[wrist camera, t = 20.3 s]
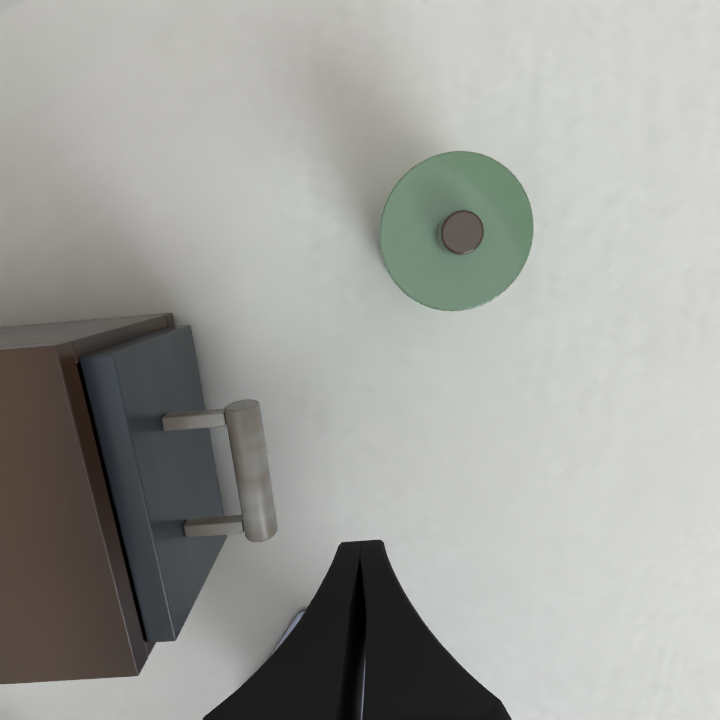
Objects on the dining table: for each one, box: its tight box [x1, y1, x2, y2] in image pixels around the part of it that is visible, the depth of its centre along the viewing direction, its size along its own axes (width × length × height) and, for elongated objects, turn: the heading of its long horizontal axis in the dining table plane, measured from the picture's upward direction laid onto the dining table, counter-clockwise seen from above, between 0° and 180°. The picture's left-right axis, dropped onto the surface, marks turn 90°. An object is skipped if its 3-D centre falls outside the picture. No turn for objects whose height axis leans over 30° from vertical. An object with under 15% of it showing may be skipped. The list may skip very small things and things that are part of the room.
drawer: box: [77, 325, 277, 642], centre depth 19 cm, size 16×12×7 cm
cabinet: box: [0, 313, 174, 684], centre depth 19 cm, size 14×13×9 cm
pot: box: [379, 151, 533, 311], centre depth 17 cm, size 5×5×8 cm
